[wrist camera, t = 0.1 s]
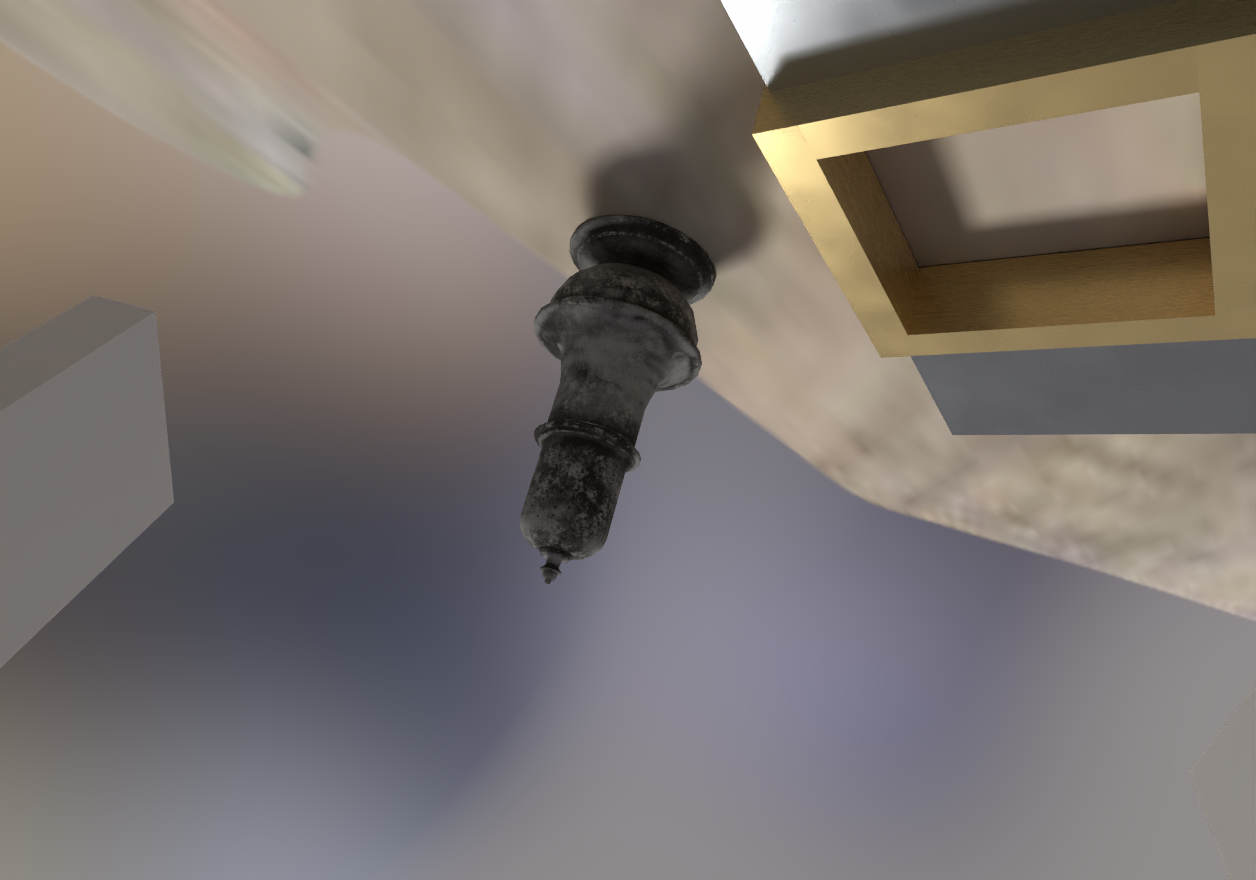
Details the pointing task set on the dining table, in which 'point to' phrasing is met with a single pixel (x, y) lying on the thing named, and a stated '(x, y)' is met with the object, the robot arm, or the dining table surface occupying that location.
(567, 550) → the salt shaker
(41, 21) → the dining table surface
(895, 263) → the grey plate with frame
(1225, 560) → the dining table surface
